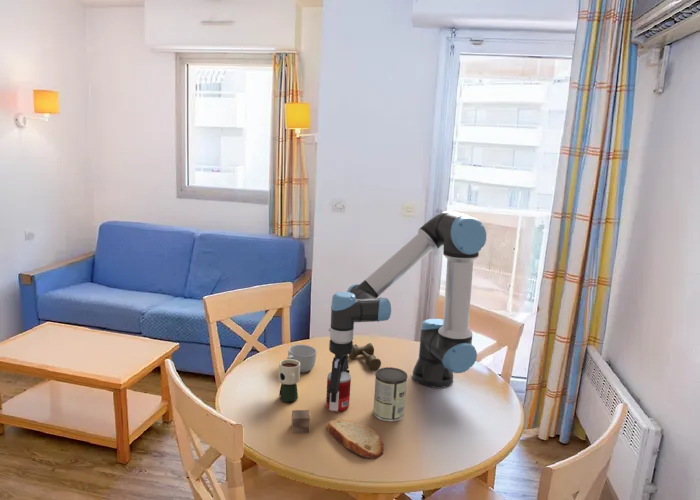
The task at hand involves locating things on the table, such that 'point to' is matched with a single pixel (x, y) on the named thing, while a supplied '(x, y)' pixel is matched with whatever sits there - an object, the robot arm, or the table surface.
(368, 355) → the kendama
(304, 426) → the metal block
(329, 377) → the canned food
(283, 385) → the character mug
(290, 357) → the teacup
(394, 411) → the coffee can
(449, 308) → the robot arm
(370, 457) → the slice of bread
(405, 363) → the table surface
